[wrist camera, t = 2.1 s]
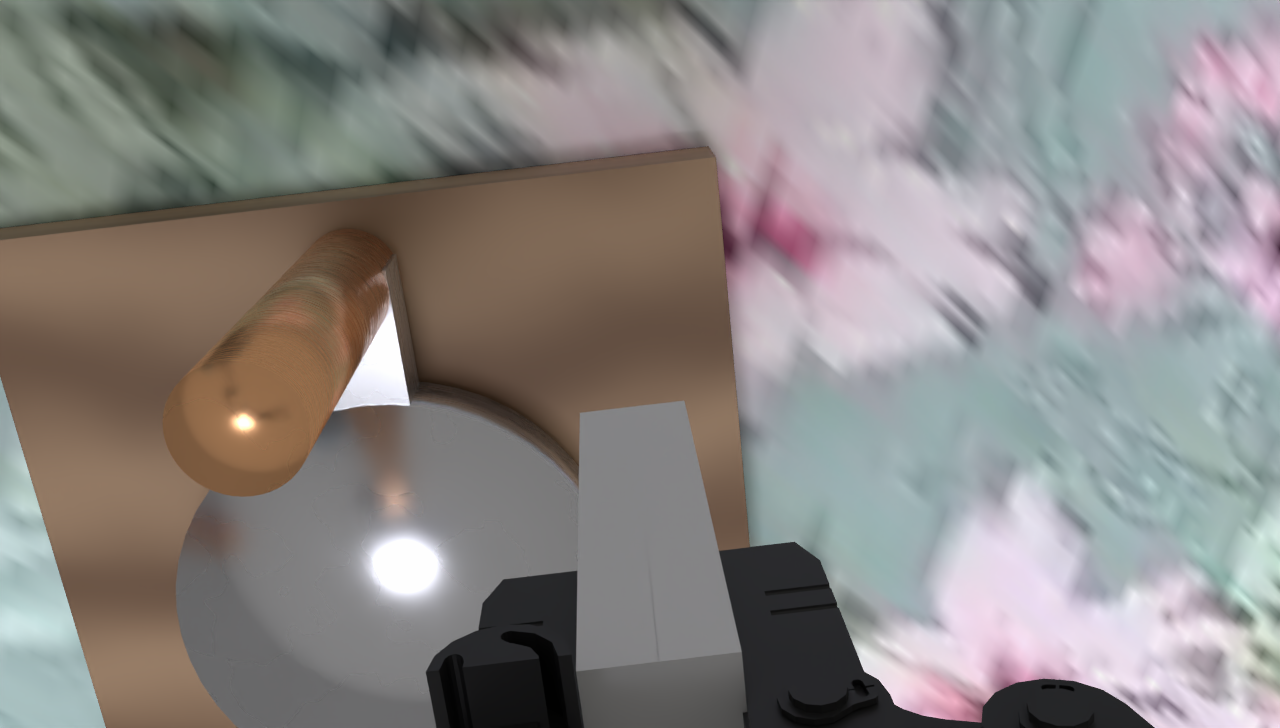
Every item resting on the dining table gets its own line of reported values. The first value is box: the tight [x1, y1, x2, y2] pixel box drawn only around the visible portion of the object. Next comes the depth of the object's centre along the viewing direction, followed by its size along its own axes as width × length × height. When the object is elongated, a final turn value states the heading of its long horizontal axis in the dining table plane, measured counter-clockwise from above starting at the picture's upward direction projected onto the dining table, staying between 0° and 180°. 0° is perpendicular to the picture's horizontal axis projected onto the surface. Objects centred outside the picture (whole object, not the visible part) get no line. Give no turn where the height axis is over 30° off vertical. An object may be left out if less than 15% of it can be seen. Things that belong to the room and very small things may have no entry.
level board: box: [0, 146, 750, 728], centre depth 34 cm, size 22×20×4 cm
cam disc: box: [162, 229, 579, 728], centre depth 28 cm, size 16×12×11 cm
